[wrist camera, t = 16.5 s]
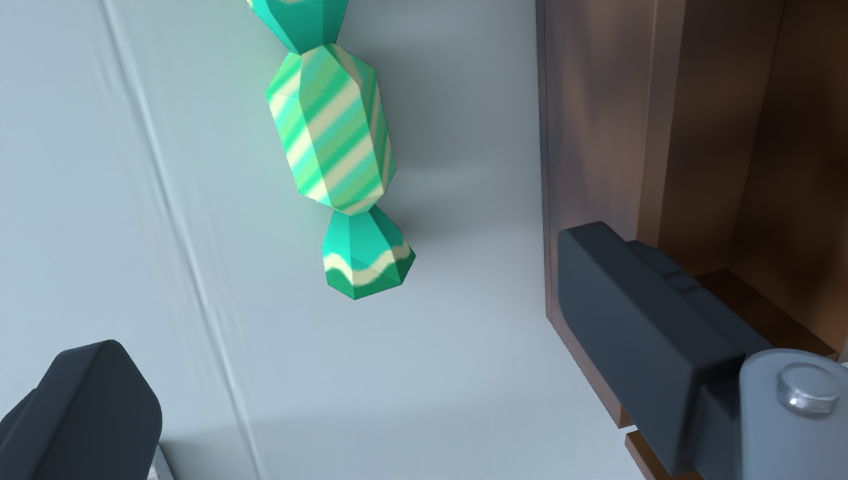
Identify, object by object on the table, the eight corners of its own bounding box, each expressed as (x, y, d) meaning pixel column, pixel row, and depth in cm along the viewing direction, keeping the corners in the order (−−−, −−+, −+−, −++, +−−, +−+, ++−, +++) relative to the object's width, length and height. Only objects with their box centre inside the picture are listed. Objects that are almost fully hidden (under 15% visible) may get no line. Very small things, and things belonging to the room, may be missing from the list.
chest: (532, -69, 17) (663, -77, 11) (812, -124, 18) (1081, -161, 11) (545, 316, 26) (618, 429, 20) (727, 267, 27) (850, 361, 21)
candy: (194, -49, 14) (264, -65, 12) (292, -67, 16) (371, -84, 14) (311, 274, 21) (373, 311, 18) (371, 235, 23) (435, 264, 20)
